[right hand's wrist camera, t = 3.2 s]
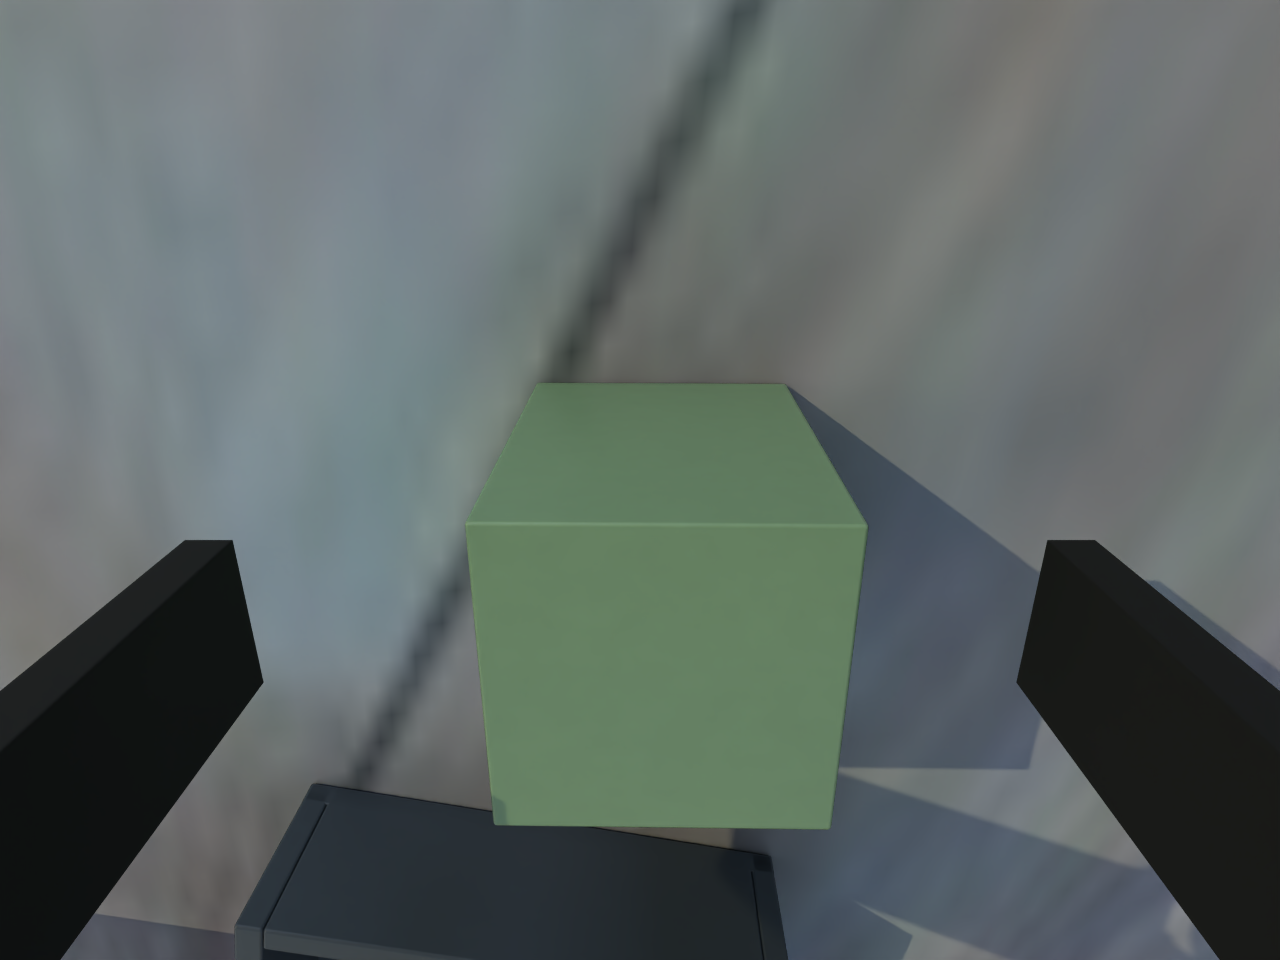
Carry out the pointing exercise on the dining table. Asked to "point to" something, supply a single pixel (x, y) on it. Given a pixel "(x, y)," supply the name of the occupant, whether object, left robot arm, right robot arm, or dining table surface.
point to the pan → (497, 890)
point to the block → (664, 609)
